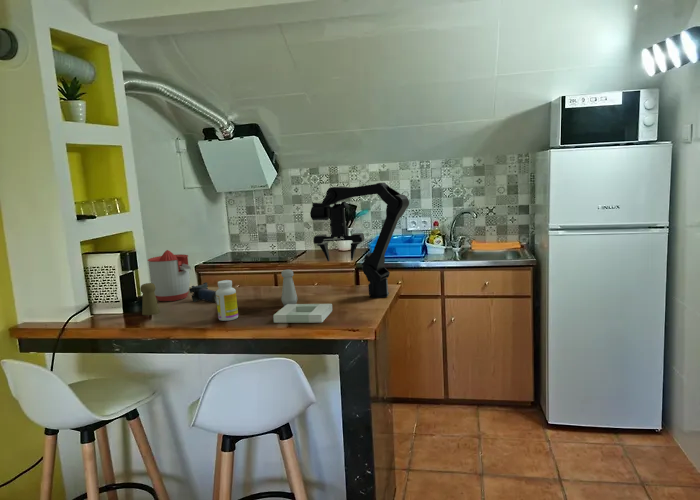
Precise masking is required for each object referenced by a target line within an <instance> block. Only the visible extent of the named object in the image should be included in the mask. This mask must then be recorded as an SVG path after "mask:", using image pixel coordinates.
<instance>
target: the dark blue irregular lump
mask: <svg viewBox="0 0 700 500" xmlns="http://www.w3.org/2000/svg"><path fill="white" fill-rule="evenodd" d="M208 284H209V282H203V283H202V284H199V285H192V286H191V287H189V293H190V294H192V295H191V300H192V302H194V303H195V302H200V301H202V300H203V301H206V302H210V303H213V304H214V303H215V304H217V301H216V291H217V290H213V289H209V285H208Z"/></svg>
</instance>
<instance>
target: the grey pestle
mask: <svg viewBox="0 0 700 500" xmlns="http://www.w3.org/2000/svg"><path fill="white" fill-rule="evenodd" d="M280 274H281V277H282V278H283V280H282V290H281V291H282V292H281V298H280V299H281V303H282V304H283V307H284V306H285V305H287V304H298V303H297V302H298V296H297V292H296V287H295V284H294V283H295V282H294V279H293V276H294V270H293V269H283V270H281V273H280Z"/></svg>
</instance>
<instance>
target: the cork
mask: <svg viewBox="0 0 700 500" xmlns="http://www.w3.org/2000/svg"><path fill="white" fill-rule="evenodd" d="M139 289H140V292H141V293H142V299H141V300H142V302H141V303H142V305H141V306H142V308H141V309H142V310H141V312H142V313H141V314H142V316H152V315H153V316H154V315H157V314H159V313H160V307H159V305H158V300H157V298H156V296H155V289H156V287H155V285H154V284H153V283H151V282H146V283H143V284H142V285H140V287H139Z"/></svg>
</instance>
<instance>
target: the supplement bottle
mask: <svg viewBox="0 0 700 500" xmlns="http://www.w3.org/2000/svg"><path fill="white" fill-rule="evenodd" d="M217 287H218V288H217V290H215V291H216V301H217V303H216V308H217V318H218V320H219V321H224V322H227V321H229V322H230V321H234V320H236V319H238V317H239V310H238V301H237V290H236V289H235V288H234V287H233V280H229V279H225V280H219V281H217Z"/></svg>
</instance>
